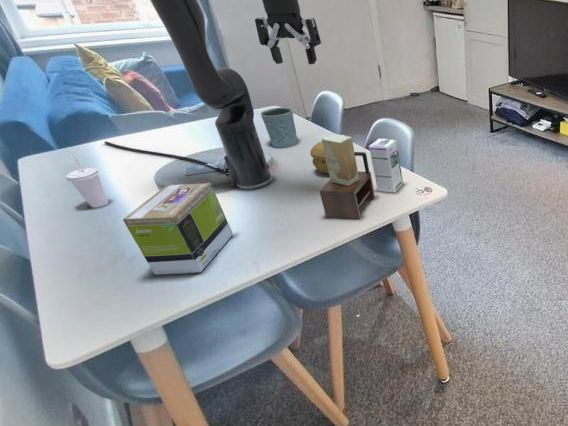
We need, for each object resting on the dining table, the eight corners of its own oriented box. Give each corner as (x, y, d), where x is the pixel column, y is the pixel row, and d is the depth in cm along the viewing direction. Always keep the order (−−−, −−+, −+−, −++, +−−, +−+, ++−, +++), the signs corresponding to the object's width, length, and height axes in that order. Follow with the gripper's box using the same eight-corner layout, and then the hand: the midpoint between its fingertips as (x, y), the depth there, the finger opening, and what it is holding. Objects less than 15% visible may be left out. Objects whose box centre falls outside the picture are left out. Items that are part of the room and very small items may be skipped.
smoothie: (120, 200, 119) (95, 154, 112) (94, 211, 114) (66, 164, 107) (104, 197, 121) (79, 151, 114) (78, 208, 116) (50, 160, 109)
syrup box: (395, 193, 124) (388, 146, 116) (376, 191, 125) (368, 144, 117) (403, 184, 128) (397, 139, 121) (385, 182, 129) (377, 137, 122)
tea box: (191, 237, 104) (166, 183, 96) (234, 235, 105) (213, 181, 97) (152, 276, 91) (119, 217, 83) (201, 273, 92) (173, 215, 84)
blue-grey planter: (270, 150, 151) (260, 117, 145) (269, 140, 159) (260, 109, 153) (301, 145, 155) (292, 113, 149) (299, 136, 163) (291, 105, 157)
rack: (326, 217, 112) (313, 169, 105) (344, 195, 122) (334, 150, 115) (359, 219, 111) (348, 170, 104) (375, 197, 122) (366, 151, 114)
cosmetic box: (330, 182, 112) (319, 138, 105) (341, 175, 115) (331, 132, 109) (349, 186, 110) (340, 142, 103) (360, 179, 113) (352, 136, 107)
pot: (328, 181, 130) (321, 150, 125) (307, 171, 136) (299, 141, 131) (361, 168, 138) (355, 139, 133) (340, 159, 144) (333, 131, 139)
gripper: (315, -10, 101) (329, 61, 109) (257, -11, 102) (276, 60, 110) (299, -8, 95) (316, 67, 103) (238, -9, 95) (259, 66, 104)
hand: (295, 63), depth 107 cm, fingers open, 8 cm apart
